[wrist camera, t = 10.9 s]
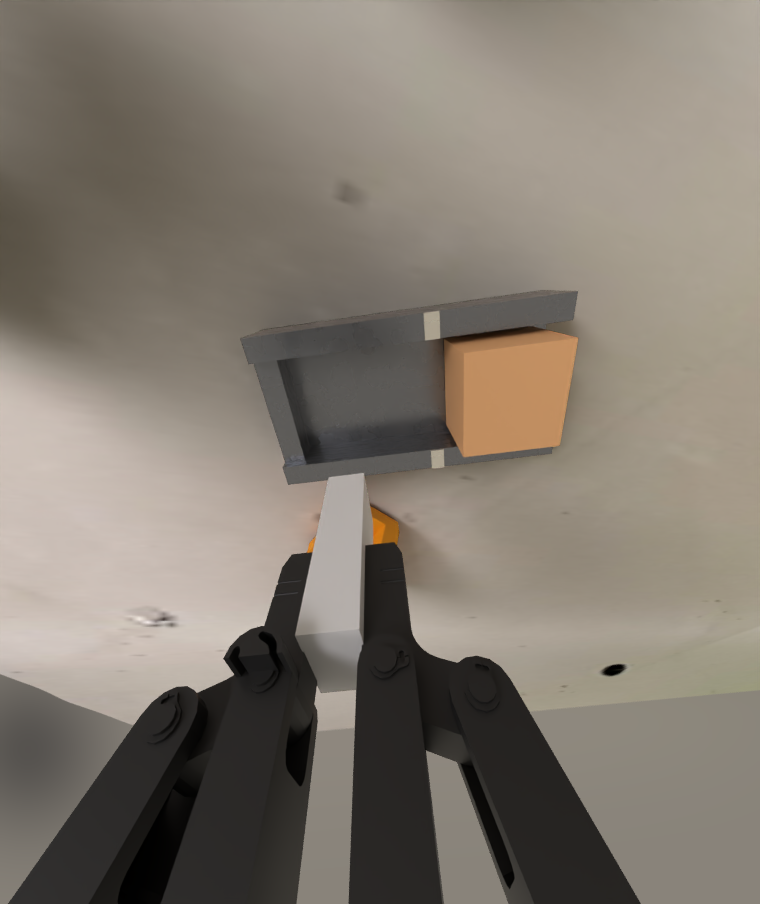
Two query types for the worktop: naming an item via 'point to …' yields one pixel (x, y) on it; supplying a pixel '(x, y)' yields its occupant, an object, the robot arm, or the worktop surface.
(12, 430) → the worktop surface
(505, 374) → the slider block
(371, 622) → the robot arm
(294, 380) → the chute
